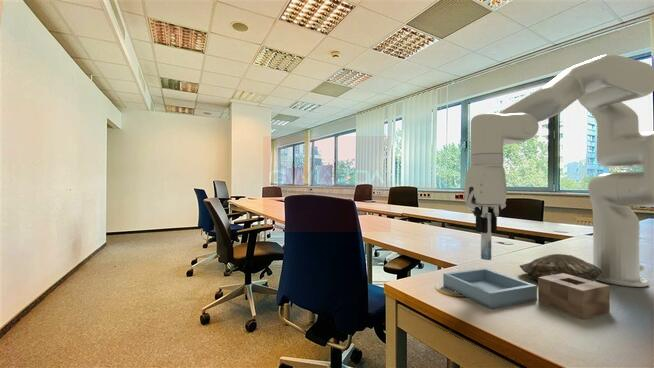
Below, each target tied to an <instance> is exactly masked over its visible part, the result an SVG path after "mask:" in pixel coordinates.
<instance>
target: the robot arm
mask: <svg viewBox="0 0 654 368" xmlns="http://www.w3.org/2000/svg"><path fill="white" fill-rule="evenodd" d="M653 92H654V66H653V65H651V64H649V63H647V62H645V61H644V62H643V61H640V60H638V59H633V58H630V57H627V56H623V55H620V54H619V55H617V54H603V55H600V56H597V57H594V58H592V59H589V60H586V61H584V62H581V63H578V64H575V65H573V66H571V67H569V68H566V69H565V70H563V71H561V72H560V73H559V74H558V75H556V76H555V77H554V78H552V79H551V80H550V81H548V82H547V83H545V84H544V85H543V86H542V87H540V88H539V89H537V90H536V91H534V92H532V93H531V94H528V95H527V96H525V97H523V98H522V99H520V100H518V101H517V102H515V103H513V104H511V105H509V106H508V107H506V108H505V109H503V110H501V111H500V112H498V113H496V112H487V113H480V114H477V115H474V116H473V117H472V118H471V120H470V147H469V148H470V149H469V150H470V154H469V155H470V161H469V162H470V163H469V164H470V165H469V167H467V171H466V175H465V182H464V191H463V192H464V193H463V195H464V197H463V199H464V203H466V204H465V208H467V209H468V210H470V211H471V212H472V213H473V216H474V218H475V232H477V233H480V234H481V233H487V232H488V218H486V213H492V231H491V233H497V230H498V221H497V220H498V217H500V216H499V215H500V213H501V210H503V209H505V208H506V207H507V204H506V202H507V196H508V195H507V191H508V190H507V179H506V171H505V167H504V146H505V145H512V144H520V143H523V142H524V143H525V142H527V141H530V140H531V139H533V138H534V137H535V136H536V135H537V133H538V131H539V123H540V122H542V121H545V120H547V119H551V118H553V117H555V116H557V115H559V114H560V113H562V112H563V111H564V110H565V109H568V107H569V106H570V105H572V104H573V103H575V102H576V101H577V100H578V102H579V104H580V105H582V107H584V108H585V109H586V110H587V111H588V112H589V113H590V114H591V115H592V117H593V118H594V119H595V122H596V129H597V130H596V131H597V133H596V134H597V135H596V160H597V162H598V165H599V166H601V167H604V168H608V169H625V168H643V171H625V172H624V171H623V172H622V171H620V172H605V173H602V174H598V175H596V176H593V177H592V179H590V181H589V183H588V186H587V190H588V194H589V199H590V203H591V207H592V208H591V209H592V248H593V249H592V264H593V265H595V266H596V267H598V268H600V269H601V270H602V273H603V274H602V275H601V276H600V277H598V278H596V279H595V280H596V281H599V282H601V283H603V282H604V283H605V284H606V283H607V284H612V285H616V286H617V285H618V286H623V287H634V288H635V287H636V288H640V287H641V288H643V287H647V286H648V285H649V281H648V279H646V278H644V277H642V276H641V274H640V273H641V272H644V271H645V268H644V266H643V265H641V264H640V262H641V261H640V257H641V255H640V253H641V252H640V249H641V248H640V226H641V225H640V220H639V217H638V216H637V214H636V213H635V212H634V210H633V209H632V208H631V207H645V208H654V130H652V131H642V132H640V130H639V128H640V127H639V126H640V125H639V116H638V114H637V112H636V111H635V110H633V109H632V108H631V107H629V105H627V104H625V103H623V102H626V101H631V100H636V99H640V98H643V97H646V96H648V95H650V94H652V93H653Z"/></svg>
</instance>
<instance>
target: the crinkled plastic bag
mask: <svg viewBox="0 0 654 368" xmlns="http://www.w3.org/2000/svg"><path fill="white" fill-rule="evenodd" d="M519 268H520V269H521V270H522V271H523V273H526V274H527V275H526V276H527V278H530V279H532V280H535V281H537V282H538V277H543V276H549V275H556V274H562V273H564V274H568V275H572V276H576V277H579V278H583V279H587V280H590V281H595V280H596V278H598V277H600V276H601V275H602V274H603V273H602V270H601V269H600V268H598V267H596V266H595V265H593V263H589V262H587V261H585V260H584V259H581V258H579V257H576V256H575V255H571V254H562V253H560V254H559V253H554V254H548V255H544V256H541V257H538V258H536V259H533V260H532V261H530V262H528V263H524V264H520V265H519Z"/></svg>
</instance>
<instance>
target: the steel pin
mask: <svg viewBox="0 0 654 368" xmlns="http://www.w3.org/2000/svg"><path fill="white" fill-rule="evenodd" d="M486 218H488V232H487V233H481V232H480V259H482V260H485V261H491V260H492V232H491V231H492V213H486Z"/></svg>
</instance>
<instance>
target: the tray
mask: <svg viewBox="0 0 654 368" xmlns="http://www.w3.org/2000/svg"><path fill="white" fill-rule="evenodd" d="M442 274H443V275H442V277H443V278H442V279H443V285H442V286H443V287H444V288H446V287H447V289H449V290H450V291H453V292H455V291H456V292H455V293H457V292H458V293H457V294H459V293H460V294H459V295H461V294H462V295H461V296H463V297H465V298H467V299H470V300H472V301H473V302H475V303H478V304H480V305H481V306H484V307H486V308H487V309H497V308H501V307H502V308H503V307H507V306H513V305H517V304H523V303H527V302H533V301H538V286H537V285H536V284H534V283H530V282H527V281H524V280H522V279H519V278H515V277H513V276H509V275H506V274H502V273H501V272H497V271H494V270H491V269H488V268H486V267H484V268H483V267H482V268H477V269H475V268H474V269H469V270H468V269H467V270H462V271H461V270H460V271H453V272H444V273H442Z"/></svg>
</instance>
